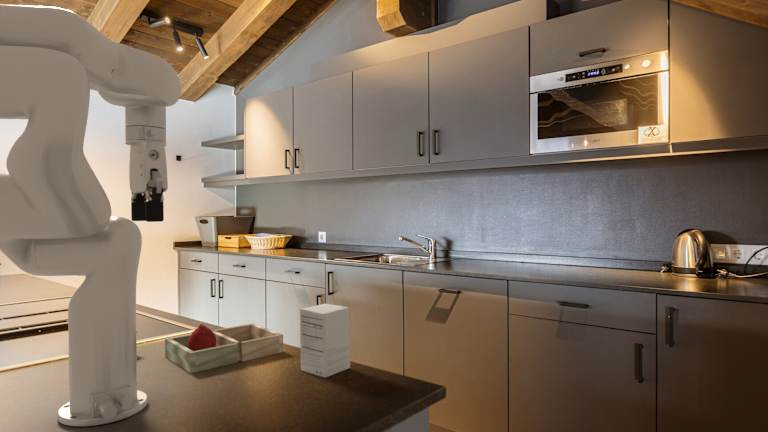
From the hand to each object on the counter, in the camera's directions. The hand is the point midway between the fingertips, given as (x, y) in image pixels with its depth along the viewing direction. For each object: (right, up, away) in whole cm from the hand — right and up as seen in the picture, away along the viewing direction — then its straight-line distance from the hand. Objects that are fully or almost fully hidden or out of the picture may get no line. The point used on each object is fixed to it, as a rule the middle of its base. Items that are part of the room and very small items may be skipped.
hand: (147, 221), depth 99 cm
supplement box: (+37, -30, -1) cm, 48 cm away
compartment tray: (+13, -30, +9) cm, 34 cm away
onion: (+9, -30, +6) cm, 32 cm away
